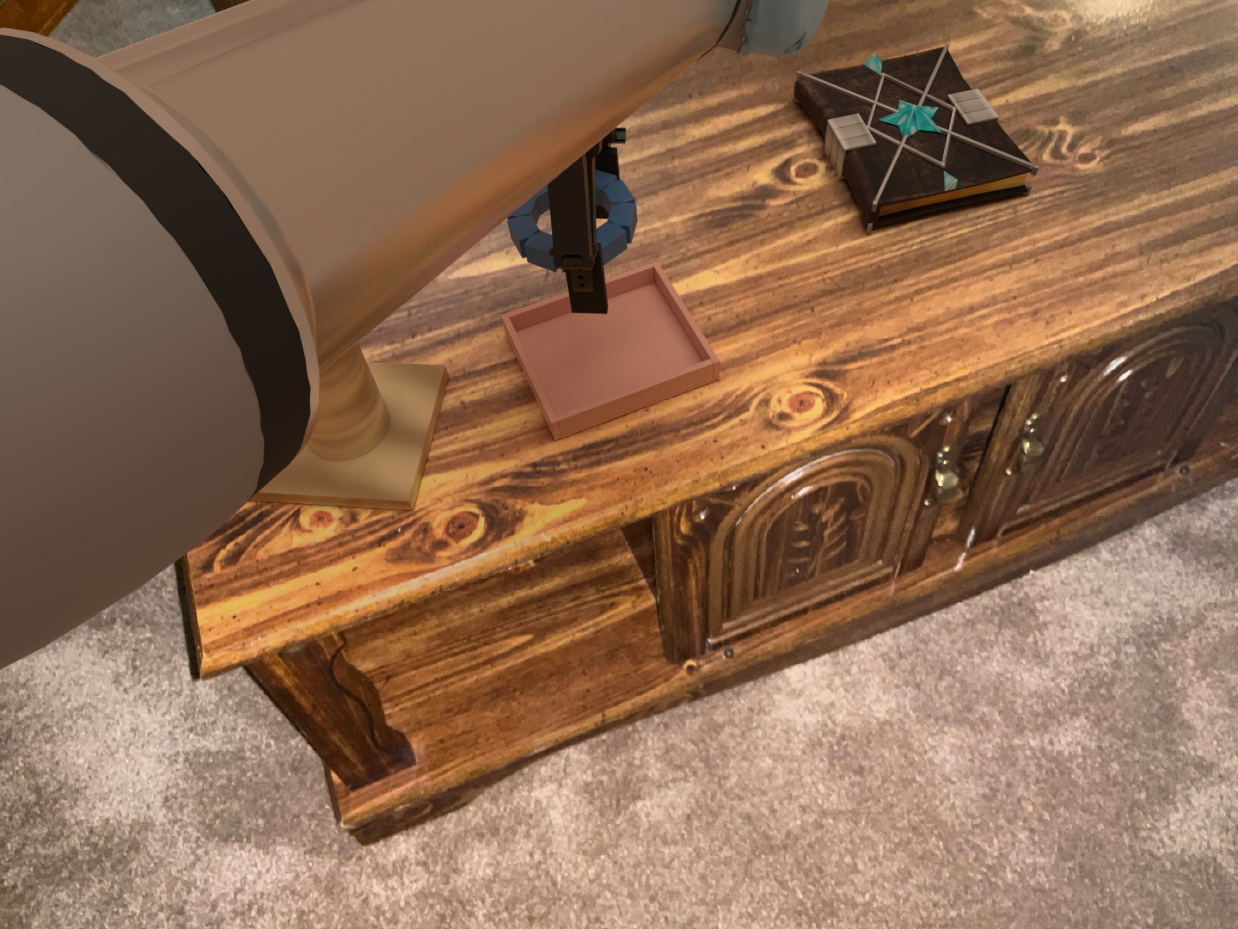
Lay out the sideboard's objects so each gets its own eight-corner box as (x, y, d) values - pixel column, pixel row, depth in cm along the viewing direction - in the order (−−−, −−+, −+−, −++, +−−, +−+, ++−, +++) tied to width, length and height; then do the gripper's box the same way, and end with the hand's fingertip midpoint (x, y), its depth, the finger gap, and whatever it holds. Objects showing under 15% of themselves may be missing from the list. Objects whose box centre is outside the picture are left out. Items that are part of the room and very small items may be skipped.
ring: (597, 288, 69) (595, 270, 68) (487, 247, 72) (482, 229, 71) (659, 207, 73) (658, 188, 72) (552, 172, 77) (549, 154, 75)
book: (791, 100, 103) (795, 58, 99) (940, 69, 104) (950, 26, 100) (865, 235, 91) (873, 193, 87) (1033, 199, 92) (1049, 156, 88)
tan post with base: (413, 510, 77) (280, 235, 53) (249, 501, 79) (47, 229, 55) (449, 375, 85) (347, 80, 61) (299, 369, 87) (141, 79, 62)
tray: (555, 440, 80) (551, 423, 78) (505, 333, 87) (500, 314, 85) (719, 379, 83) (720, 360, 81) (658, 279, 90) (657, 260, 88)
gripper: (604, 104, 50) (631, 373, 69) (645, -110, 63) (658, 167, 81) (466, 103, 51) (528, 369, 70) (532, -108, 63) (571, 166, 82)
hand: (598, 261), depth 76 cm, fingers closed on ring, 10 cm apart
